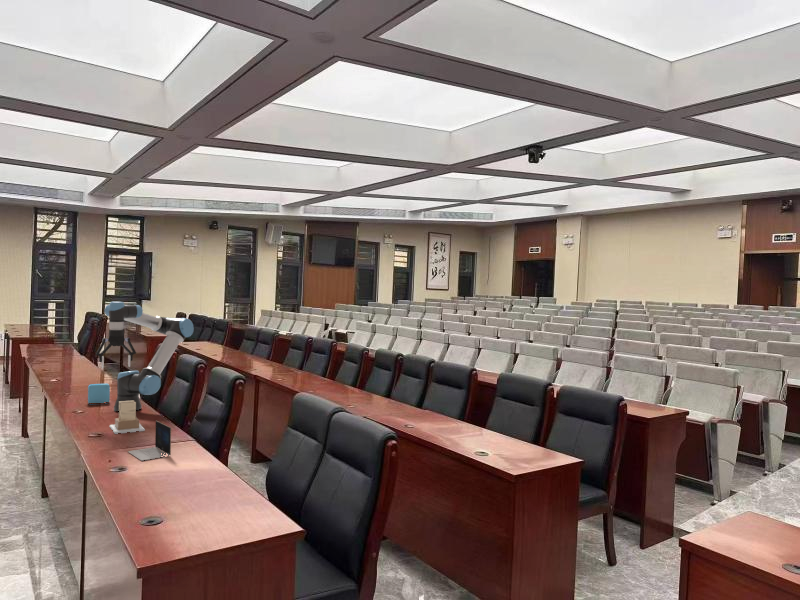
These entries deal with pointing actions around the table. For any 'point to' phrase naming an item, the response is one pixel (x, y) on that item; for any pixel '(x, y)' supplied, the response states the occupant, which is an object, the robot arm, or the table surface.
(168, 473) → the table surface
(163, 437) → the laptop
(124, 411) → the maple block
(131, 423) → the white tray
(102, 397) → the data package
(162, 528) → the table surface
